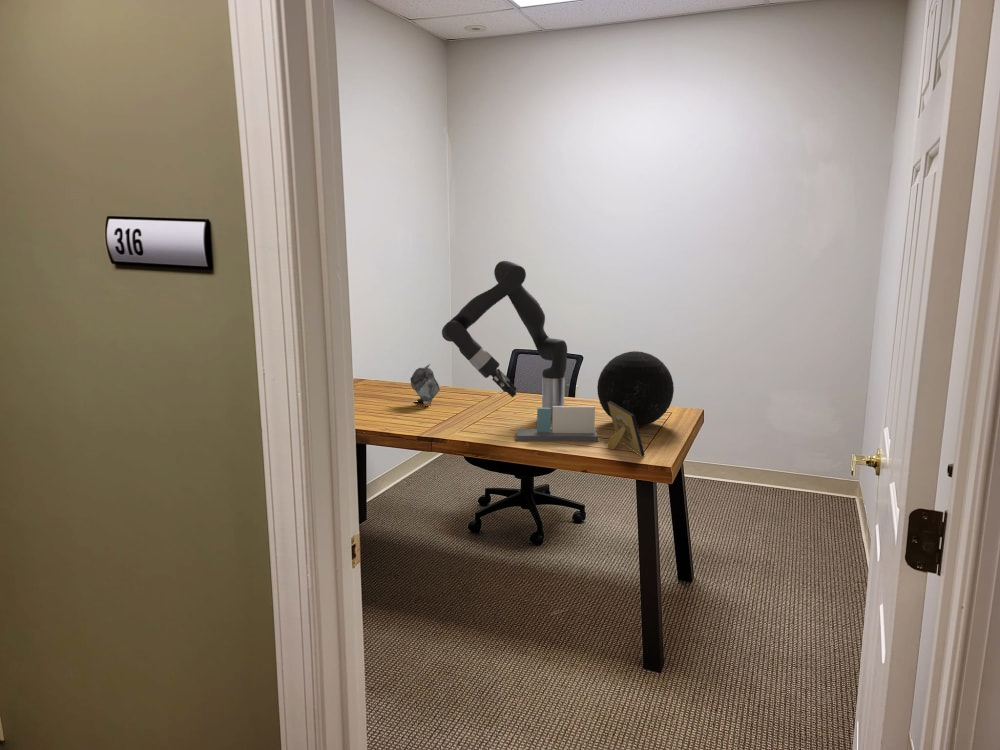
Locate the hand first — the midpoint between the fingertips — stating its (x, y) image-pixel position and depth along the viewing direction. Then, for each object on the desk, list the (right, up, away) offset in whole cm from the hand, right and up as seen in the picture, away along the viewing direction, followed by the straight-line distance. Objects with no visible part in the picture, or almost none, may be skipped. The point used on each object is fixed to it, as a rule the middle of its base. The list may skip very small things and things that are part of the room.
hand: (514, 393), depth 261 cm
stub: (+11, -14, +2) cm, 18 cm away
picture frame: (+37, -20, -11) cm, 44 cm away
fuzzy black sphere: (+48, -14, +21) cm, 55 cm away
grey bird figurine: (-40, -7, +57) cm, 70 cm away
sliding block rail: (+16, -17, +3) cm, 23 cm away
